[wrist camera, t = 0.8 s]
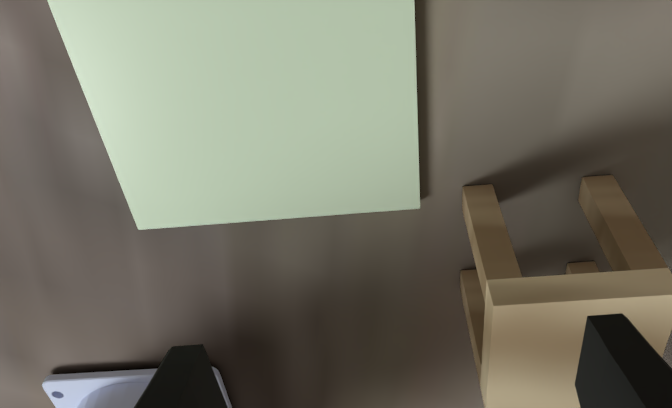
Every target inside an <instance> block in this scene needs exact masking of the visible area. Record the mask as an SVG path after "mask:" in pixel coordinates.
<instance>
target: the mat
mask: <svg viewBox="0 0 672 408" xmlns="http://www.w3.org/2000/svg"><path fill="white" fill-rule="evenodd" d="M47 1H48V4H49V6H50V9H51V11H52V14H53V16H54V19H55V21H56V24H57V26H58V29H59V31H60V34H61V36H62V39H63V41H64V44H65V46H66V49H67V52H68V54H69V57H70V59H71V62H72V64H73V67H74V69H75V72H76V74H77V77H78V79H79V82H80V84H81V87H82V89H83V92H84V94H85V97H86V99H87V102H88V104H89V107H90V109H91V112H92V114H93V117H94V119H95V122H96V124H97V127H98V130H99V132H100V135H101V137H102V140H103V142H104V145H105V147H106V150H107V152H108V155H109V157H110V160H111V162H112V165H113V167H114V170H115V172H116V175H117V177H118V180H119V182H120V185H121V187H122V190H123V192H124V195H125V197H126V200H127V202H128V205H129V208H130V210H131V213H132V215H133V218H134V220H135V223H136V225H137V228H138V230H143V229H156V228H169V227H182V226H196V225H209V224H222V223H235V222H249V221H262V220H275V219H288V218H301V217H315V216H328V215H341V214H354V213H368V212H381V211H394V210H407V209H420V184H419V148H418V112H417V76H416V40H415V4H414V0H47Z"/></svg>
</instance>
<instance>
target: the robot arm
mask: <svg viewBox="0 0 672 408" xmlns="http://www.w3.org/2000/svg"><path fill="white" fill-rule="evenodd" d="M42 386H43V389H44V390H45V392H46V393H47V395H48V396H49V398H50V399H51V401H52V402H53V404H54V405H55V407H56V408H232V406H231V403H230V401H229V398H228V395H227V392H226V389H225V387H224V384H223V381H222V378H221V375H220V373H219V371H218V370H217V369H216V368H215V367H212V366H211V364H210V361H209V359H208V356H207V354H206V351H205V349H204V346H203V344H202V345H188V346H175V347H172V348H171V349H170V350H169V351H168V352H167V354H166V356H165V357H164V359H163V361H162V362H161V364H160V366H159V367H158V368H156V369H139V370H122V371H105V372H88V373H71V374H53V375H48V376H47V377H45V380H44V382H43V384H42ZM575 388H576V392H577V396H578V399H579V403H580V407H581V408H672V368H671V367H670V366H669V365H668V364H667V363H666V362H665V361H664V360H663V358H662V357H661V356H660V355H659V354H658V353H657V352H656V351H655V349H654V348H653V347H652V346H651V345H650V344H649V343H648V341H647V340H646V339H645V338H644V337H643V336H642V334H641V333H640V332H639V331H638V330H637V329H636V327H635V326H634V325H633V324H632V323H631V322H630V320H629V319H628V318H627V317H626V316H625V315H623V314H622V313H619V314H606V315H592V316H587V320H586V326H585V331H584V336H583V342H582V347H581V353H580V358H579V363H578V369H577V374H576V380H575Z"/></svg>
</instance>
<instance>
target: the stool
mask: <svg viewBox="0 0 672 408" xmlns="http://www.w3.org/2000/svg"><path fill="white" fill-rule="evenodd" d="M578 201H579V203H580V205H581V207H582V209H583V211H584V213H585V215H586V218H587V220H588V222H589V224H590V226H591V228H592V230H593V232H594V234H595V236H596V238H597V240H598V242H599V244H600V246H601V248H602V250H603V252H604V254H605V256H606V258H607V260H608V262H609V264H610V266H611V268H612V270H613V272H599V270H598V268H597V266H596V263H595V261H593V262H578V263H567V268H566V274H565V275H553V276H538V277H523V278H522V275H521V272H520V269H519V266H518V262H517V259H516V256H515V253H514V250H513V247H512V244H511V241H510V238H509V235H508V231H507V228H506V225H505V222H504V219H503V216H502V213H501V210H500V207H499V204H498V201H497V197H496V194H495V191H494V188H493V185H492V184H489V185H476V186H463V193H462V211H463V215H464V219H465V223H466V227H467V231H468V236H469V240H470V244H471V248H472V252H473V256H474V260H475V264H476V268H477V269H475V270H461V272H460V291H461V296H462V301H463V306H464V310H465V315H466V320H467V325H468V330H469V335H470V340H471V344H472V349H473V354H474V359H475V364H476V369H477V374H478V378H479V383H480V388H481V393H482V398H483V403H484V408H581V407H580V403H579V399H578V396H577V392H576V388H575V380H576V374H577V369H578V363H579V358H580V353H581V347H582V342H583V336H584V331H585V326H586V320H587V316H592V315H606V314H619V313H622V314H623V315H625V316H626V317H627V318H628V319H629V320H630V322H631V323H632V324H633V325H634V326H635V327H636V329H637V330H638V331H639V332H640V333H641V334H642V336H643V337H644V338H645V339H646V340H647V341H648V343H649V344H650V345H651V346H652V347H653V348H654V349H655V351H656V352H657V353H658V354H659V355H660V356H661V357H662V356H663V353H664V350H665V347H666V344H667V341H668V339H669V336H670V333H671V330H672V273H671V272H670V270H669V268H668V267H667V265H666V263H665V262H664V260H663V258H662V257H661V255H660V253H659V252H658V250H657V248H656V247H655V245H654V243H653V242H652V240H651V238H650V237H649V235H648V233H647V232H646V230H645V228H644V227H643V225H642V223H641V222H640V220H639V218H638V217H637V215H636V213H635V212H634V210H633V208H632V207H631V205H630V203H629V202H628V200H627V198H626V196H625V195H624V193H623V191H622V190H621V188H620V186H619V185H618V183H617V181H616V180H615V178H614V176H613V175H604V176H591V177H582V181H581V187H580V193H579V198H578Z"/></svg>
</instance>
